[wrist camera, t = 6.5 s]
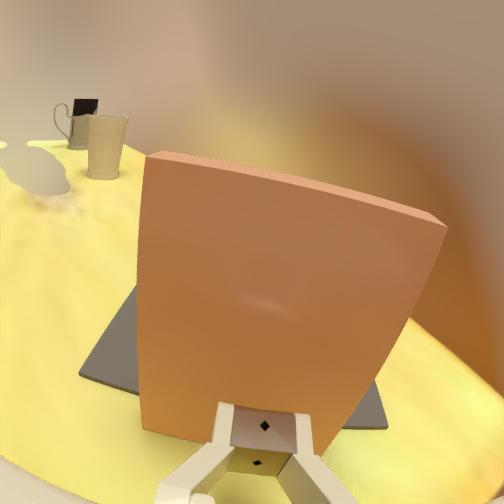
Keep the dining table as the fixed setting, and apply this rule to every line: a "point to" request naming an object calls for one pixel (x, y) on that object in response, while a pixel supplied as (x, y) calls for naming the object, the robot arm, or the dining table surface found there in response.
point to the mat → (126, 367)
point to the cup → (105, 145)
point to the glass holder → (80, 123)
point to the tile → (268, 293)
